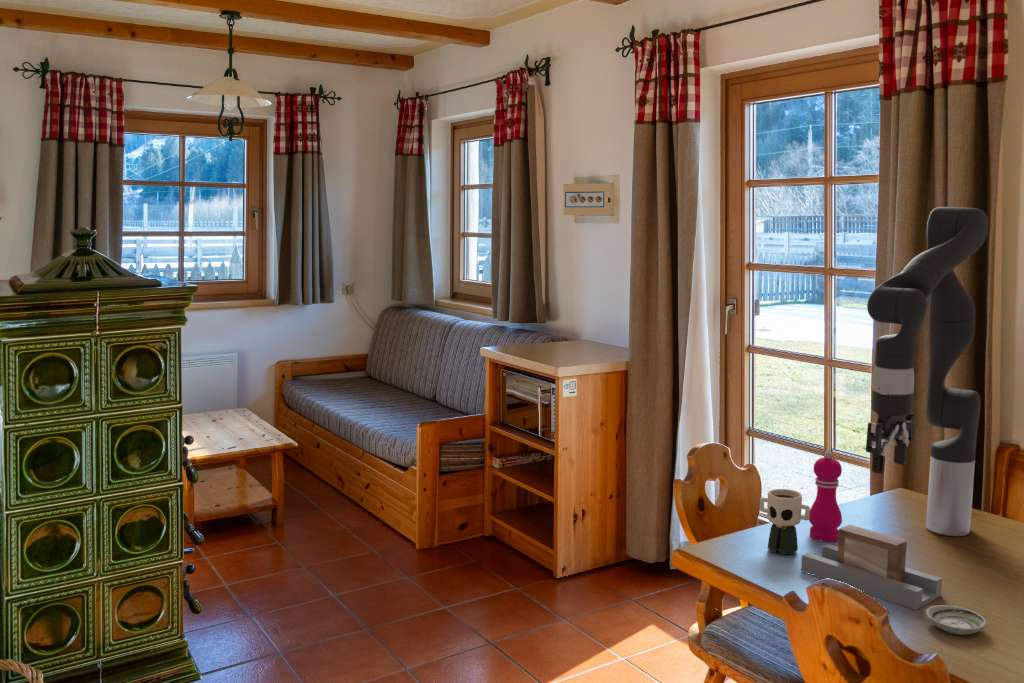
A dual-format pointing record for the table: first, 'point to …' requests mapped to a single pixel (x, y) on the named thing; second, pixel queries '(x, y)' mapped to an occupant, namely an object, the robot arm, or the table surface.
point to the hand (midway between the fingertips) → (889, 468)
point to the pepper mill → (826, 500)
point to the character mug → (784, 518)
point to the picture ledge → (875, 579)
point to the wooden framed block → (872, 552)
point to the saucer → (955, 619)
